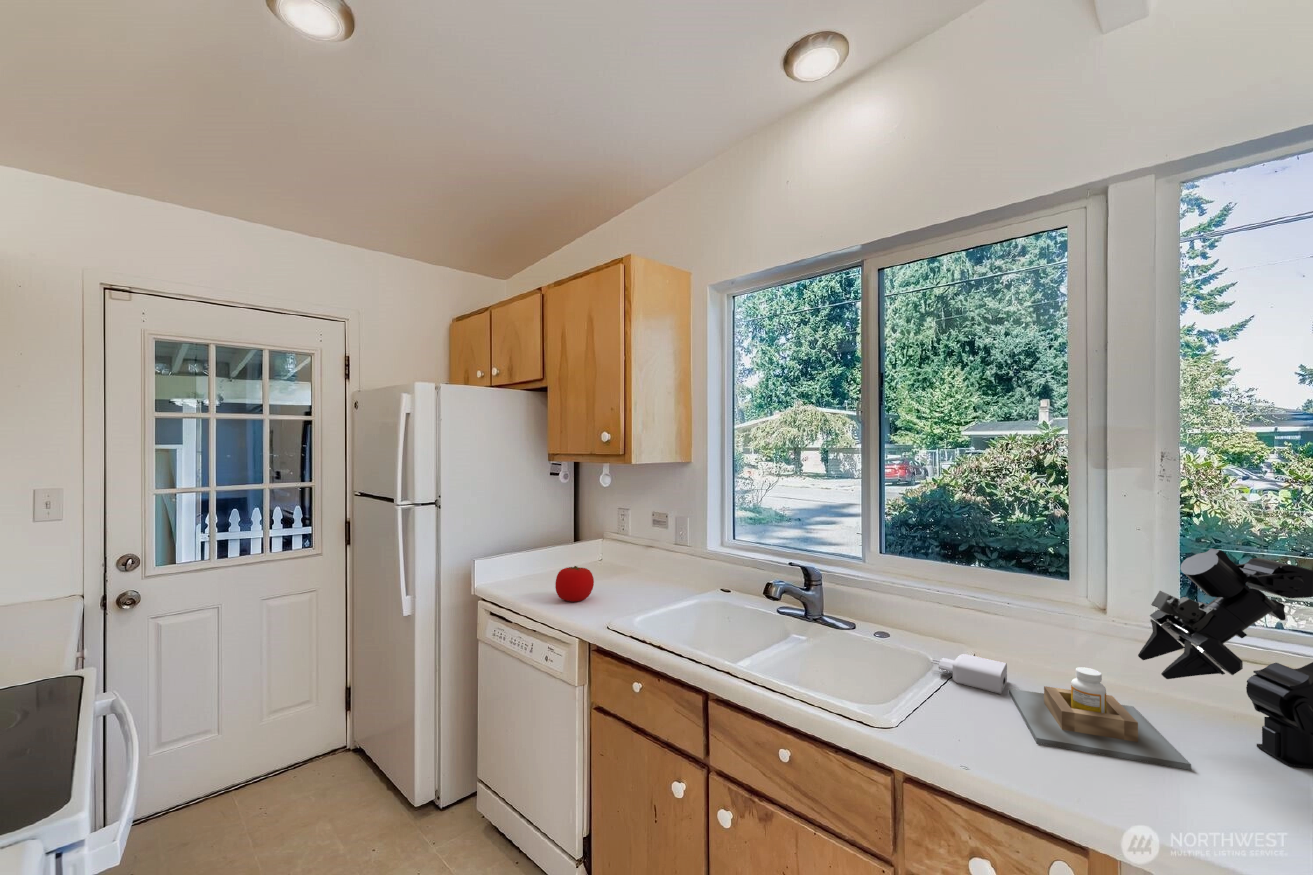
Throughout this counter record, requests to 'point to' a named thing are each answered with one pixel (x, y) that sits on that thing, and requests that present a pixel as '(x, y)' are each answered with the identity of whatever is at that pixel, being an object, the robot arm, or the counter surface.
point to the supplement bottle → (1088, 691)
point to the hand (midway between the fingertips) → (1151, 666)
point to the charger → (976, 672)
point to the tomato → (574, 583)
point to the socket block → (1094, 728)
